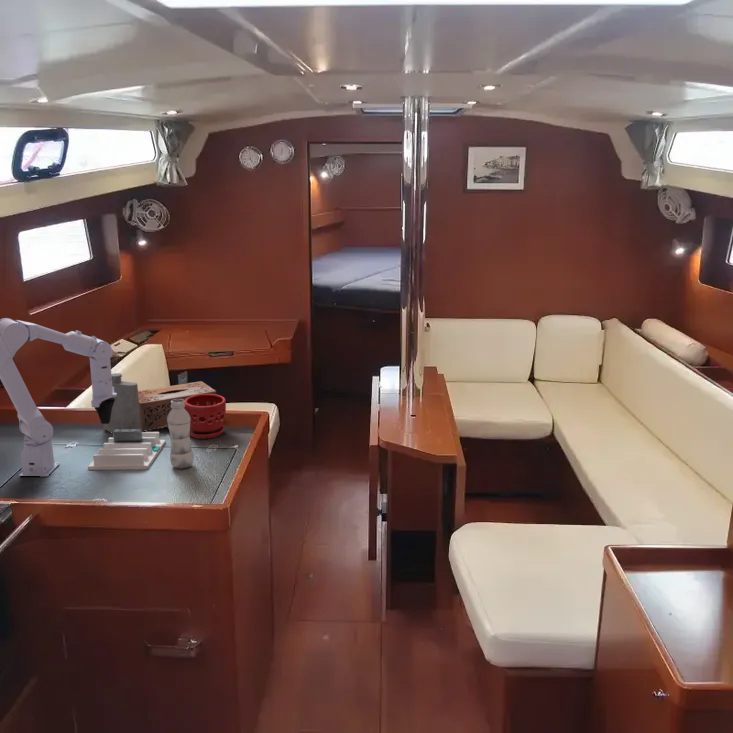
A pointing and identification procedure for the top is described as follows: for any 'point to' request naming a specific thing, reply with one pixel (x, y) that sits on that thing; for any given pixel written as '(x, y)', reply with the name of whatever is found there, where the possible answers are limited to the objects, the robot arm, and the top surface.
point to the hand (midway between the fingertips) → (105, 423)
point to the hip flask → (124, 405)
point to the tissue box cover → (166, 402)
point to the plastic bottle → (180, 435)
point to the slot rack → (128, 453)
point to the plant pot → (206, 415)
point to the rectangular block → (127, 436)
